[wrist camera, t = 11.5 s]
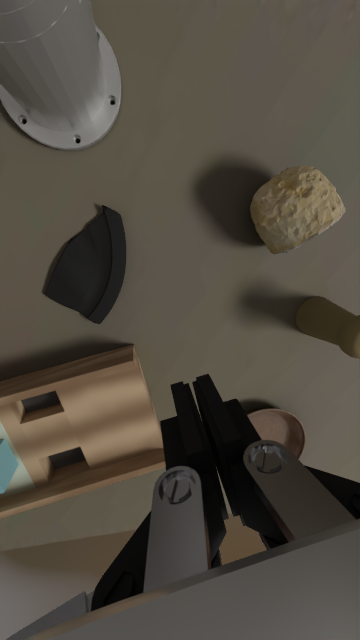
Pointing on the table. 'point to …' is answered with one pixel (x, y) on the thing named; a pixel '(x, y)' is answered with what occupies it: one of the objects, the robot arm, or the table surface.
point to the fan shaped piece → (92, 268)
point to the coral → (295, 208)
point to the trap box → (78, 428)
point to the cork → (330, 324)
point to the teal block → (6, 465)
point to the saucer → (280, 428)
